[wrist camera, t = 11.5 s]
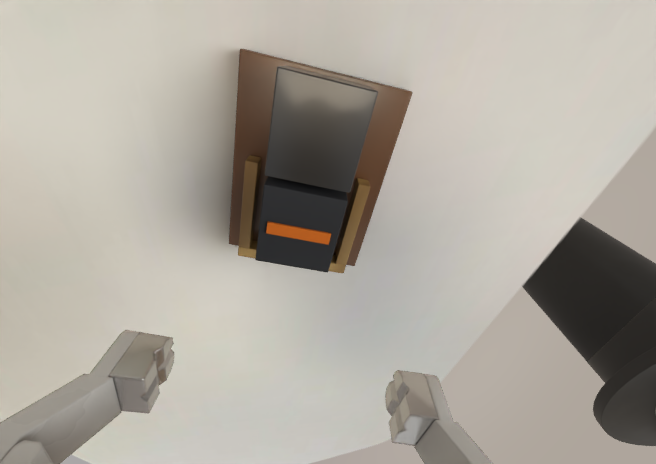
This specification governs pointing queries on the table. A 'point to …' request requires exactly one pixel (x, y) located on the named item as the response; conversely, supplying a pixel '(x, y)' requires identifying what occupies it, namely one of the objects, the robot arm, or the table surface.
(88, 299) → the table surface
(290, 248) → the black block with stripe
